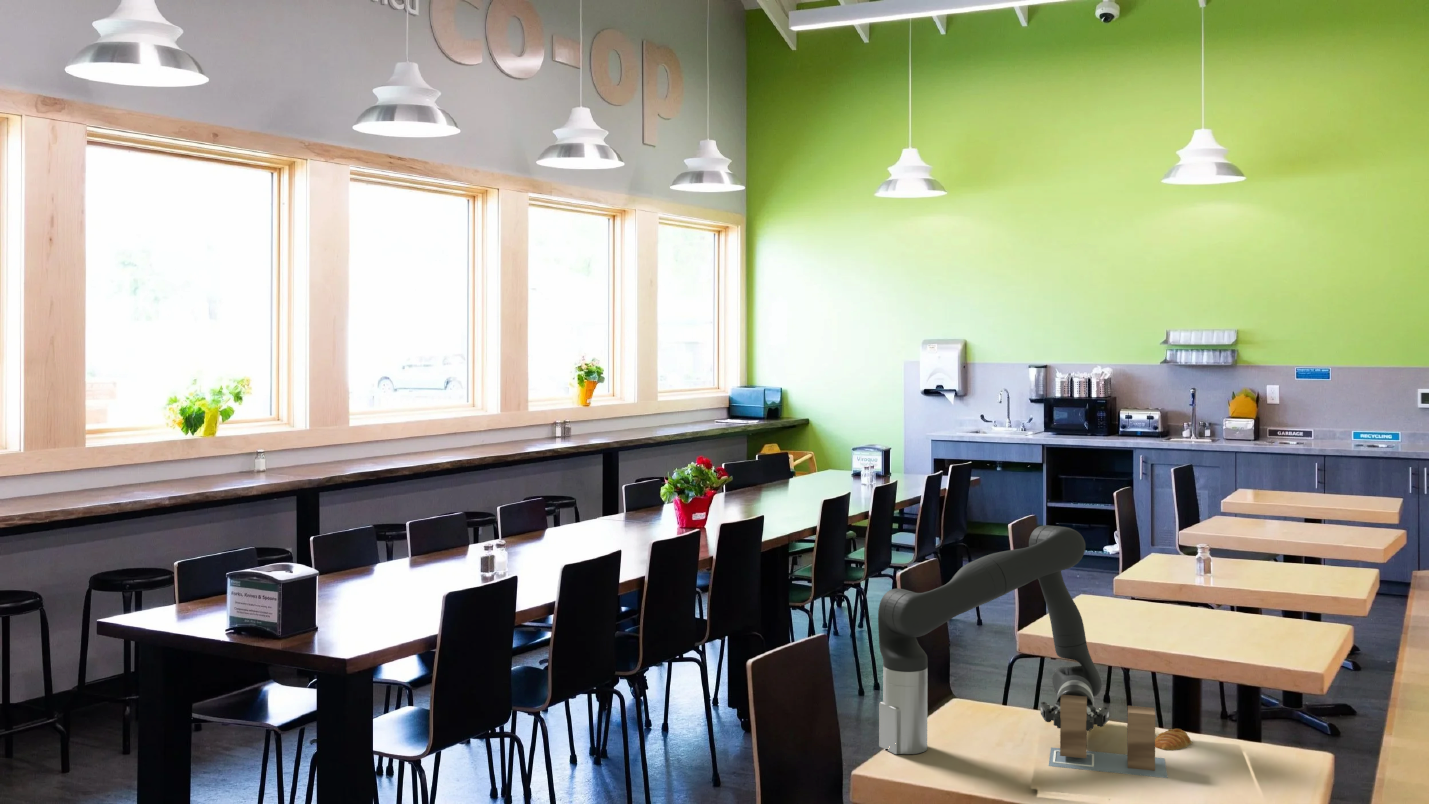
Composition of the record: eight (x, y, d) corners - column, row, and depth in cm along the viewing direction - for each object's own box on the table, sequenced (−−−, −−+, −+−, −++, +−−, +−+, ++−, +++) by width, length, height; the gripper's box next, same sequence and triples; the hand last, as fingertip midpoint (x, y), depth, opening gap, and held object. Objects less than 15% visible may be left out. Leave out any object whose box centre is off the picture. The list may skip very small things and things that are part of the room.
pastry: (1177, 759, 236) (1177, 741, 236) (1145, 753, 241) (1145, 734, 241) (1194, 748, 243) (1194, 730, 243) (1162, 742, 248) (1162, 724, 248)
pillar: (1086, 758, 229) (1086, 703, 229) (1060, 755, 231) (1060, 701, 231) (1086, 750, 234) (1086, 696, 234) (1061, 748, 236) (1061, 694, 235)
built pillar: (1155, 770, 225) (1155, 714, 225) (1127, 768, 227) (1128, 712, 227) (1153, 762, 230) (1154, 707, 230) (1127, 760, 232) (1127, 705, 231)
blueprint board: (1167, 784, 221) (1167, 777, 221) (1048, 771, 228) (1048, 765, 228) (1164, 764, 233) (1164, 757, 233) (1050, 753, 240) (1050, 746, 240)
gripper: (1040, 681, 248) (1036, 703, 232) (1110, 687, 244) (1111, 709, 227) (1040, 716, 248) (1036, 740, 232) (1110, 722, 244) (1111, 747, 228)
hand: (1073, 724), depth 230 cm, fingers closed on pillar, 5 cm apart
